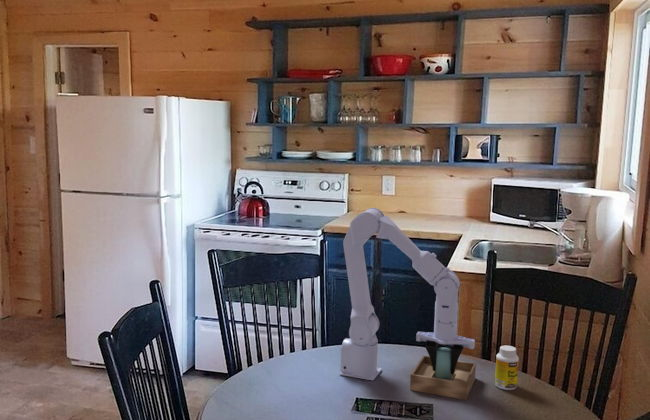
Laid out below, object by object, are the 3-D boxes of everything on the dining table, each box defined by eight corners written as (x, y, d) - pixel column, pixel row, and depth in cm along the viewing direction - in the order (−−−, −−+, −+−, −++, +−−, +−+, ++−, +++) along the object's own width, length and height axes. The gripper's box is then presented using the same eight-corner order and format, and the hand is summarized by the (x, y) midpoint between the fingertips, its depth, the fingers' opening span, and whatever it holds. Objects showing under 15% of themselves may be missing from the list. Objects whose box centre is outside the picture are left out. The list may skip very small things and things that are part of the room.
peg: (433, 381, 151) (434, 351, 150) (438, 375, 155) (439, 346, 154) (448, 384, 150) (449, 354, 148) (453, 378, 153) (454, 349, 152)
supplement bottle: (507, 392, 148) (509, 353, 146) (489, 384, 152) (491, 346, 151) (521, 387, 151) (524, 349, 150) (504, 380, 155) (506, 342, 154)
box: (410, 389, 149) (410, 374, 148) (422, 369, 162) (423, 355, 161) (466, 399, 144) (467, 384, 143) (475, 378, 156) (475, 363, 156)
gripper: (414, 320, 149) (412, 372, 151) (472, 328, 144) (470, 381, 146) (420, 312, 156) (418, 362, 158) (476, 320, 150) (474, 371, 152)
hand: (443, 371), depth 152 cm, fingers closed on peg, 4 cm apart
